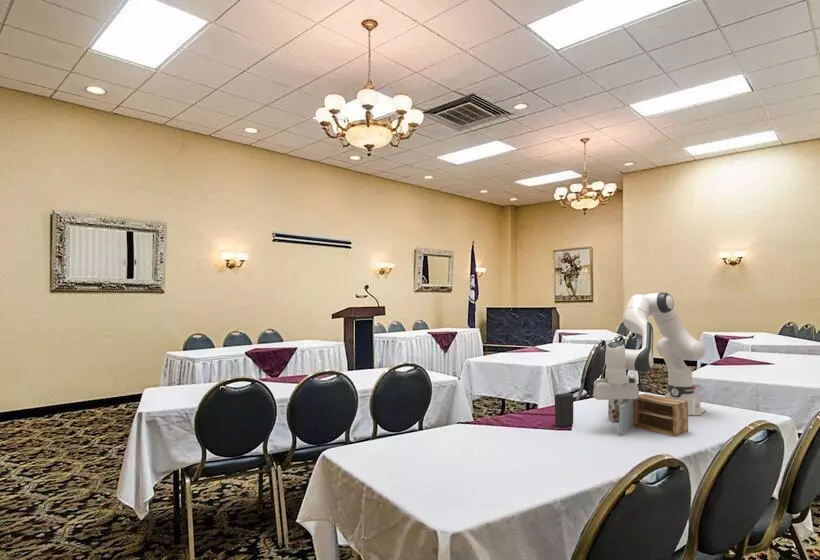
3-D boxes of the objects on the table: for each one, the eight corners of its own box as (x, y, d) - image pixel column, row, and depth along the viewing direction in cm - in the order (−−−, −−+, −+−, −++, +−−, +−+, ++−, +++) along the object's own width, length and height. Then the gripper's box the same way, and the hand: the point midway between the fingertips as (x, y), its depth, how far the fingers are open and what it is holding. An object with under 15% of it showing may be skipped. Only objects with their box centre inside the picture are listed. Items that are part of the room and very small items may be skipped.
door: (633, 425, 230) (633, 399, 230) (622, 434, 215) (622, 406, 216) (631, 424, 231) (630, 398, 231) (619, 433, 216) (619, 406, 216)
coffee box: (612, 422, 238) (611, 389, 239) (608, 419, 245) (607, 386, 245) (631, 423, 237) (631, 389, 238) (627, 419, 244) (626, 387, 244)
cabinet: (645, 422, 238) (644, 393, 238) (688, 432, 222) (687, 401, 222) (631, 426, 231) (631, 396, 231) (675, 436, 215) (674, 404, 215)
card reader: (567, 423, 237) (567, 392, 237) (574, 425, 233) (574, 393, 234) (554, 425, 232) (553, 393, 233) (560, 427, 229) (560, 395, 229)
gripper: (597, 380, 220) (597, 411, 219) (640, 379, 221) (641, 410, 221) (590, 377, 226) (590, 407, 226) (633, 377, 228) (633, 407, 227)
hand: (616, 409), depth 223 cm, fingers closed
